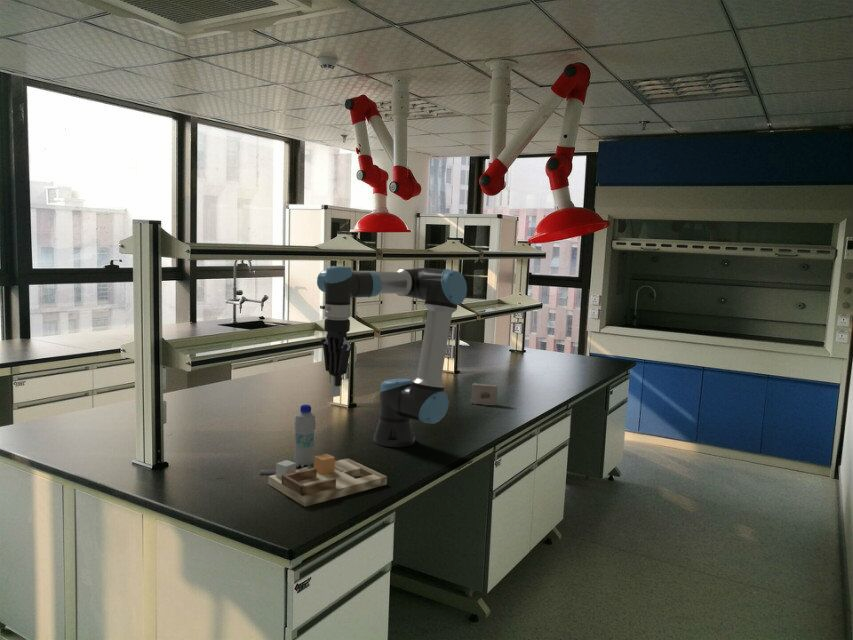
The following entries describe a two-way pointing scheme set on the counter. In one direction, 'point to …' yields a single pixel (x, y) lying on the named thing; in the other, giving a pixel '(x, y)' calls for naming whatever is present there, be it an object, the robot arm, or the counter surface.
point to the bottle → (304, 437)
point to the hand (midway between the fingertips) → (335, 395)
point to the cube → (324, 463)
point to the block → (285, 468)
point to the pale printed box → (484, 394)
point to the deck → (344, 482)
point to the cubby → (294, 485)
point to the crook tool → (267, 471)
